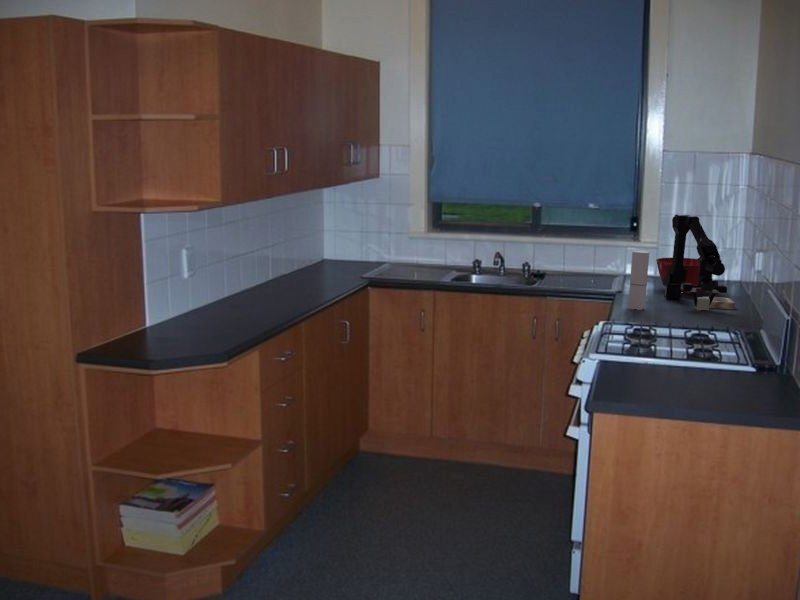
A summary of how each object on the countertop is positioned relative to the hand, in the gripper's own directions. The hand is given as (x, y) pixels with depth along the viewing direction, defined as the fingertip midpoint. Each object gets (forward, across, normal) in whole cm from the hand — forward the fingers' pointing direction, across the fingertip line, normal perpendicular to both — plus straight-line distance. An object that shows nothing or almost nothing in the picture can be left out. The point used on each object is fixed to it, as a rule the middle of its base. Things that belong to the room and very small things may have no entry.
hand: (702, 307), depth 394 cm
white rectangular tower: (+1, -29, -6) cm, 30 cm away
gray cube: (+1, 0, 0) cm, 1 cm away
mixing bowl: (+1, 0, +47) cm, 47 cm away
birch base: (+1, +9, +11) cm, 14 cm away
